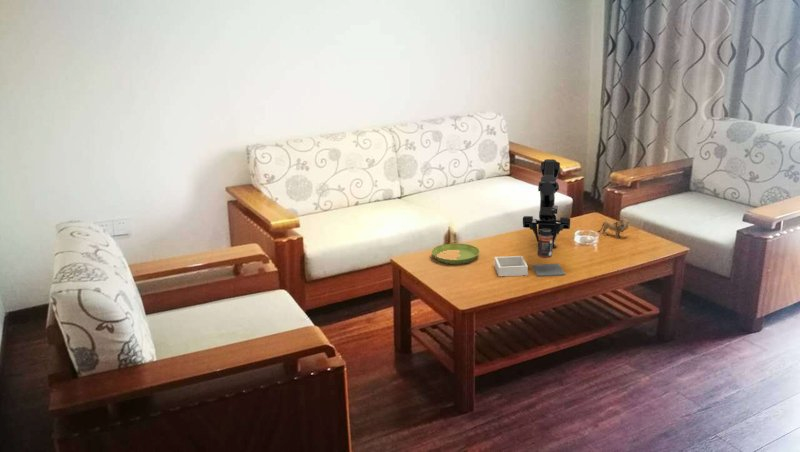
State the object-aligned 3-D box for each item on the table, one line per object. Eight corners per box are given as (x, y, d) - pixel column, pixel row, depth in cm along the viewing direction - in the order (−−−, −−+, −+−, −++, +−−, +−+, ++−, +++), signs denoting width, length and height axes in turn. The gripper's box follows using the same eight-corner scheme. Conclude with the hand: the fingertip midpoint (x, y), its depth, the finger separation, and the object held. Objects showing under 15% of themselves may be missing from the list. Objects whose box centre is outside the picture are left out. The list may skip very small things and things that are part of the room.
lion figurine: (630, 237, 304) (631, 218, 301) (625, 240, 300) (626, 221, 297) (599, 231, 313) (600, 213, 310) (594, 234, 310) (595, 216, 307)
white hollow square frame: (494, 265, 279) (494, 257, 277) (522, 264, 279) (522, 255, 277) (498, 276, 268) (498, 267, 266) (527, 275, 268) (527, 266, 266)
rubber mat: (532, 266, 277) (532, 264, 276) (558, 265, 277) (558, 263, 276) (537, 276, 266) (537, 275, 266) (565, 275, 266) (565, 273, 266)
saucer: (472, 268, 278) (472, 261, 277) (425, 264, 285) (425, 257, 284) (484, 251, 296) (484, 244, 295) (439, 247, 303) (439, 241, 302)
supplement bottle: (554, 257, 267) (556, 231, 263) (540, 259, 266) (542, 232, 262) (548, 252, 273) (549, 226, 269) (534, 254, 272) (536, 227, 268)
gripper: (523, 197, 267) (520, 232, 261) (571, 198, 263) (569, 234, 257) (524, 209, 277) (522, 243, 271) (570, 211, 273) (569, 245, 266)
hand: (545, 241), depth 266 cm, fingers closed on supplement bottle, 6 cm apart
